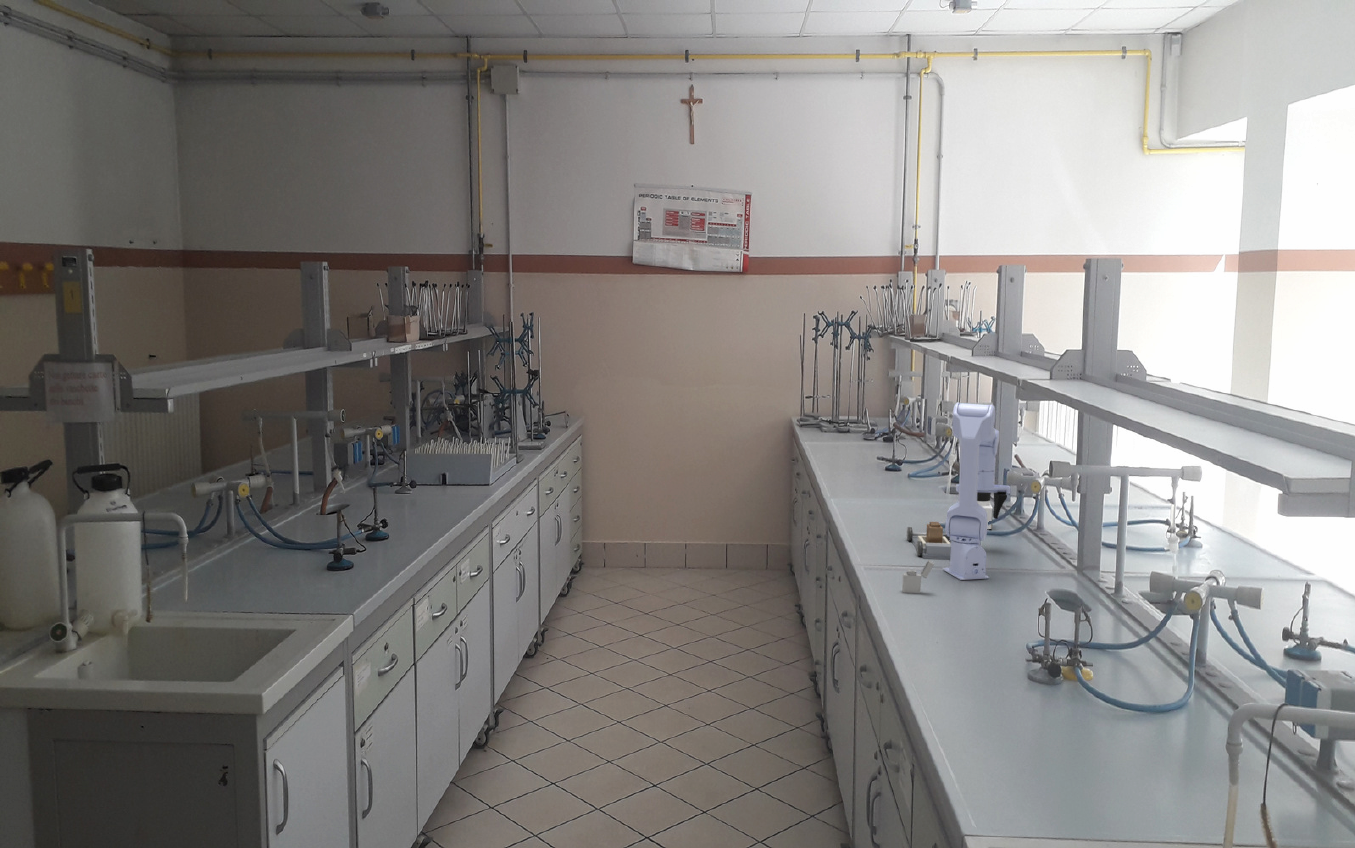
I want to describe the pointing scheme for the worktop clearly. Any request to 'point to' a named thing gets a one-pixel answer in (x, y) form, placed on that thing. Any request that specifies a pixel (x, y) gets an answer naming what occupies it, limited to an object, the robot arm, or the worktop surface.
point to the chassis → (929, 545)
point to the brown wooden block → (934, 533)
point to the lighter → (915, 579)
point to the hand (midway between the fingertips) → (981, 517)
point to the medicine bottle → (985, 505)
